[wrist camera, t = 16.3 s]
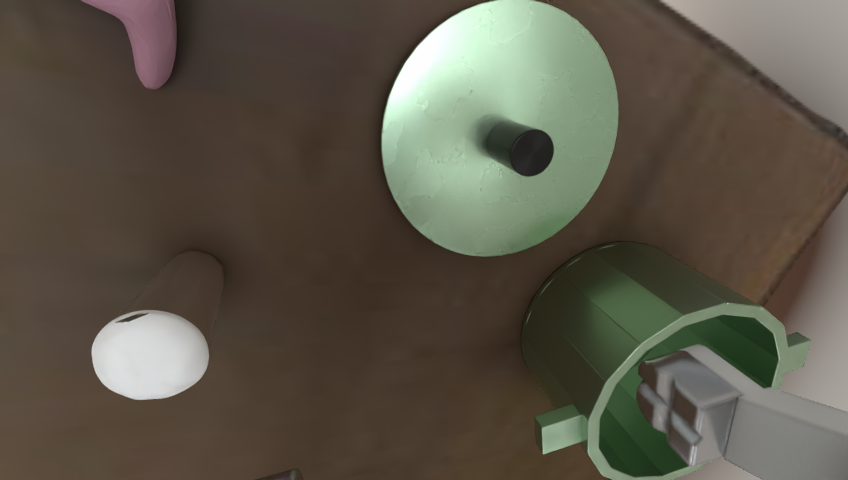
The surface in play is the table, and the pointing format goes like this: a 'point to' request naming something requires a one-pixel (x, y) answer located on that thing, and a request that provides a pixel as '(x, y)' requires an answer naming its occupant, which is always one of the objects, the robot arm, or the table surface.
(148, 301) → the milkshake
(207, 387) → the table surface
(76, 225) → the table surface
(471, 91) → the lid
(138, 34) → the video game controller
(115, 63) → the table surface
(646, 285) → the pot
